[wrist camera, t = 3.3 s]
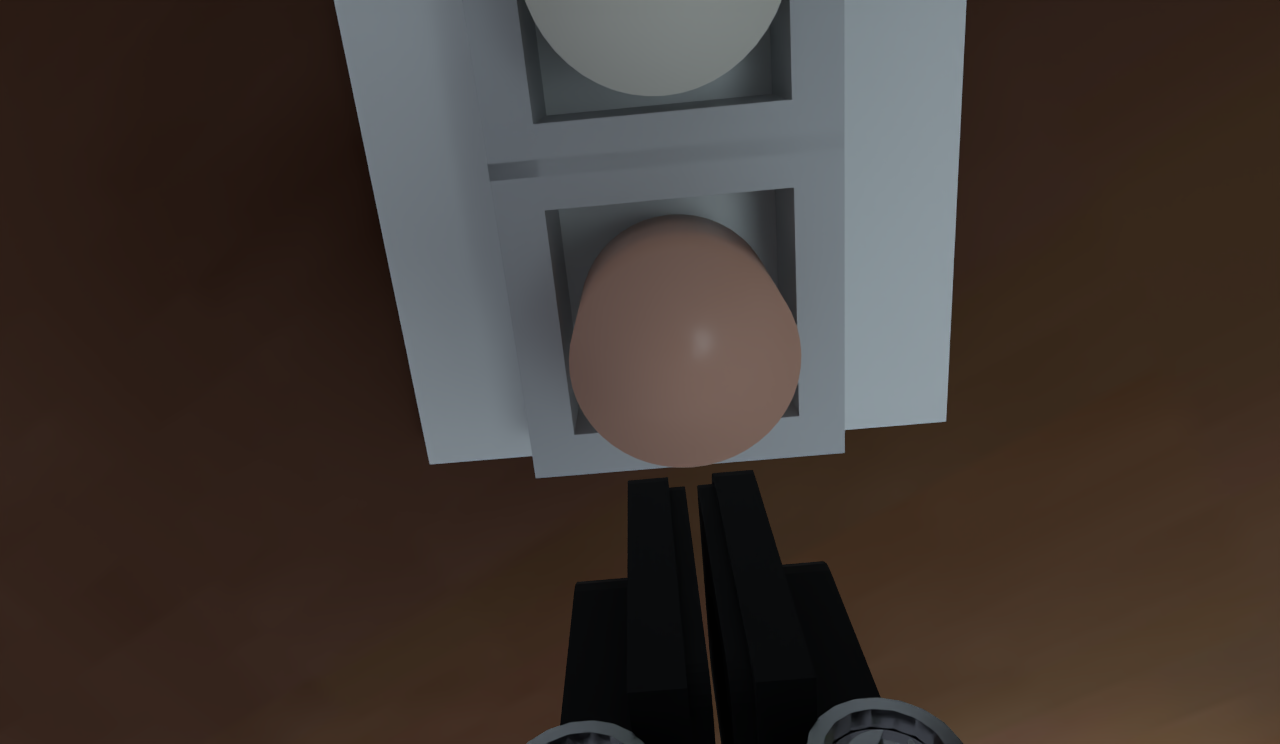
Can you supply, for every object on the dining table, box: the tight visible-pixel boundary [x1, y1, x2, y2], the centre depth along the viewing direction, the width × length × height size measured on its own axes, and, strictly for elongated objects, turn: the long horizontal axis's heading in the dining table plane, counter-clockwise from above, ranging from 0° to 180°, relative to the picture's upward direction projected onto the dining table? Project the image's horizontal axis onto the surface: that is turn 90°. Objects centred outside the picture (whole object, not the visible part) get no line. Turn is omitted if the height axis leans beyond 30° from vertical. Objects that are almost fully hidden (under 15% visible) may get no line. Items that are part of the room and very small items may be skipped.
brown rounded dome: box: [569, 214, 801, 468], centre depth 19 cm, size 5×5×4 cm
